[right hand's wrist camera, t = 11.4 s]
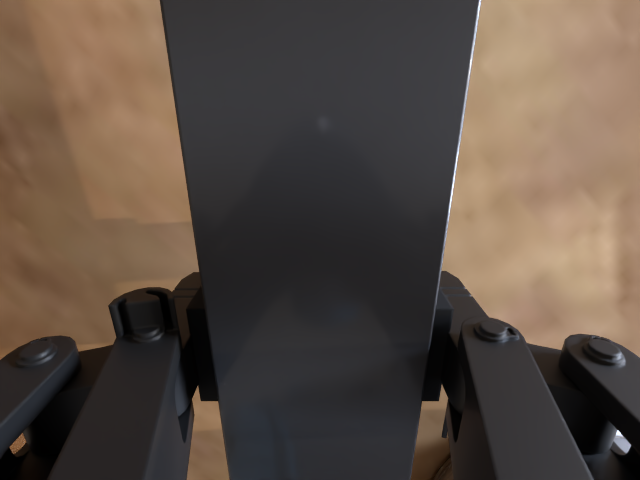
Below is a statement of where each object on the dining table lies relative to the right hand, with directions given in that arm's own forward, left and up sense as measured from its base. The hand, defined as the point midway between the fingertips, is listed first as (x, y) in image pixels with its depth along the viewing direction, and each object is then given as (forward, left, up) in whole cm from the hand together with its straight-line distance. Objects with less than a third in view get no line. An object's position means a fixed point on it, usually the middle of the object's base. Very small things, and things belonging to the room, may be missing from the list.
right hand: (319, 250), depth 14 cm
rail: (0, -13, +2) cm, 13 cm away
